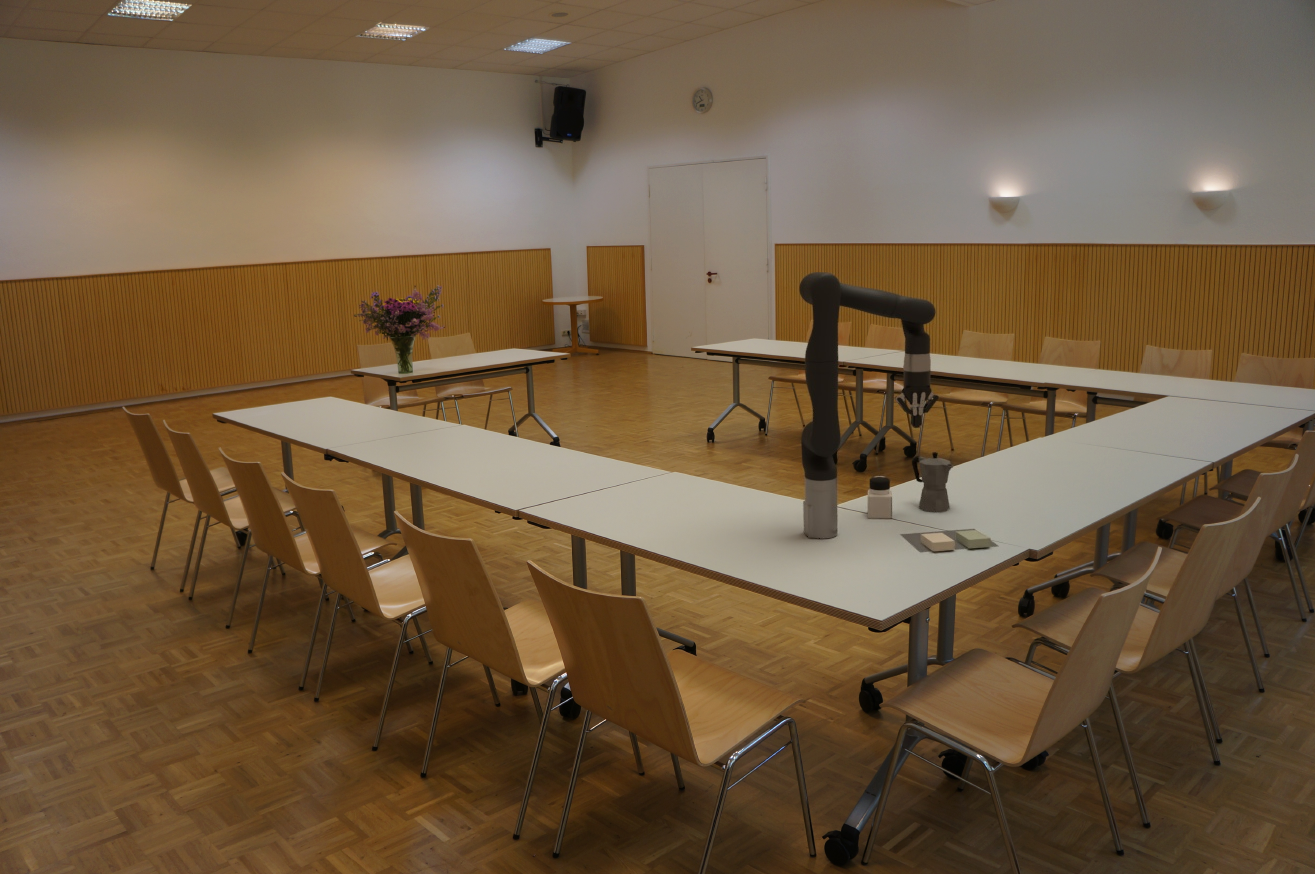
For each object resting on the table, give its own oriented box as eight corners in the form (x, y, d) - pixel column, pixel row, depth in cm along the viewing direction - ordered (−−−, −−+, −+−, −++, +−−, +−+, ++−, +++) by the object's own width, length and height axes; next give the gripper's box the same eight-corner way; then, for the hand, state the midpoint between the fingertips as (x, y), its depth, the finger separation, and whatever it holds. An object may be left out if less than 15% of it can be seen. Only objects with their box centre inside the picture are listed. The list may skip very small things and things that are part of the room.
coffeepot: (961, 509, 293) (962, 453, 290) (941, 515, 288) (942, 458, 284) (921, 499, 306) (922, 445, 302) (901, 505, 300) (902, 450, 297)
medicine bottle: (891, 518, 287) (892, 480, 285) (867, 518, 289) (867, 480, 286) (891, 512, 294) (891, 474, 292) (867, 511, 296) (867, 474, 293)
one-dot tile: (955, 540, 264) (969, 549, 255) (955, 531, 263) (969, 539, 254) (976, 539, 264) (990, 547, 255) (976, 529, 264) (990, 538, 255)
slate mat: (920, 554, 255) (920, 552, 255) (899, 536, 271) (899, 534, 271) (999, 548, 257) (999, 546, 257) (974, 530, 273) (974, 528, 273)
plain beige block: (920, 543, 263) (933, 552, 254) (920, 534, 262) (933, 542, 254) (941, 541, 263) (954, 550, 254) (941, 532, 263) (954, 541, 254)
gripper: (899, 371, 270) (898, 431, 273) (944, 369, 271) (943, 428, 274) (890, 368, 277) (889, 426, 281) (934, 365, 278) (933, 423, 282)
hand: (916, 427), depth 277 cm, fingers closed
